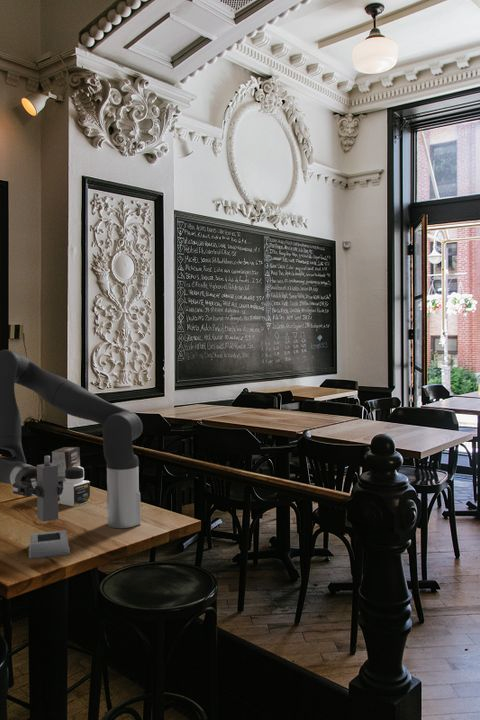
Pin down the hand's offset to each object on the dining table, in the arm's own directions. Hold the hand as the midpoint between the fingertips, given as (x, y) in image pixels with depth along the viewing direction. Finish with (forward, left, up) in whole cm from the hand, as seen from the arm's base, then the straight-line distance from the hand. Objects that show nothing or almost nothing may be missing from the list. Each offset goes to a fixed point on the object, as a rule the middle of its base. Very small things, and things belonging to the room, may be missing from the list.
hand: (51, 492), depth 153 cm
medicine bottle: (-9, -45, -16) cm, 49 cm away
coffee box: (-7, -57, -16) cm, 60 cm away
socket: (+1, -2, -16) cm, 16 cm away
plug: (+1, -3, -7) cm, 8 cm away
